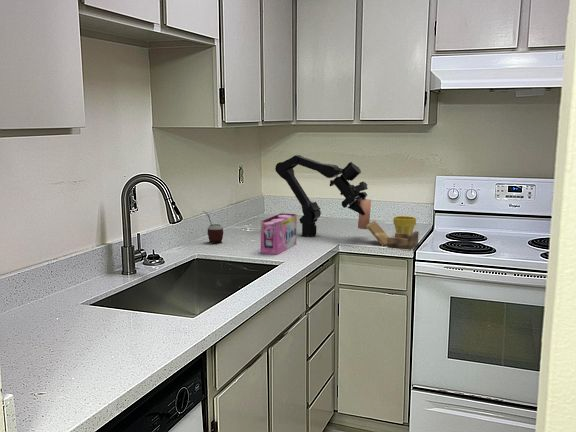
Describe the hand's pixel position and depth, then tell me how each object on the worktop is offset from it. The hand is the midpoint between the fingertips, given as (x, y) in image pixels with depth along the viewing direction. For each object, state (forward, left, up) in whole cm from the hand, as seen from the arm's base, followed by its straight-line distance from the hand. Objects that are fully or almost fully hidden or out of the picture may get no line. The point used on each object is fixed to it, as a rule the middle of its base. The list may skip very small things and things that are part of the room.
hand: (366, 213), depth 254 cm
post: (-1, +1, -7) cm, 7 cm away
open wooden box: (+16, -8, -13) cm, 22 cm away
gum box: (-39, -16, -13) cm, 44 cm away
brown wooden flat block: (+8, -4, -13) cm, 16 cm away
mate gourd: (-68, -7, -13) cm, 69 cm away
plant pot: (+19, +10, -13) cm, 25 cm away
